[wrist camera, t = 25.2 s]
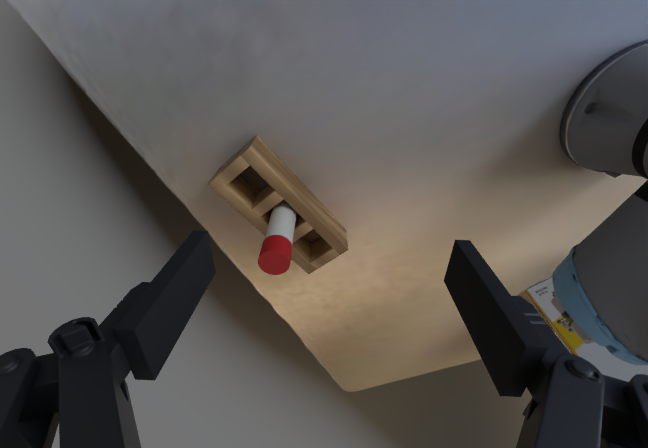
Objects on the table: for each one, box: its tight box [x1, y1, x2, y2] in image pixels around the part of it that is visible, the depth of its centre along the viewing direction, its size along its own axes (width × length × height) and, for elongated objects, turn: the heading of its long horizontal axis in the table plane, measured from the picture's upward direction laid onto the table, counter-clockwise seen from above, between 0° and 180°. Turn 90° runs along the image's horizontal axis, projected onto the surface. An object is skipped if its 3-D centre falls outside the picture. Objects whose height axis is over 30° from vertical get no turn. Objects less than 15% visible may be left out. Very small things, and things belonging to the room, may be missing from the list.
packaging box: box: [526, 277, 648, 382], centre depth 45 cm, size 16×16×25 cm
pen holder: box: [208, 135, 348, 274], centre depth 42 cm, size 8×20×5 cm, turn 39°
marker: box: [258, 199, 297, 275], centre depth 39 cm, size 4×4×14 cm
